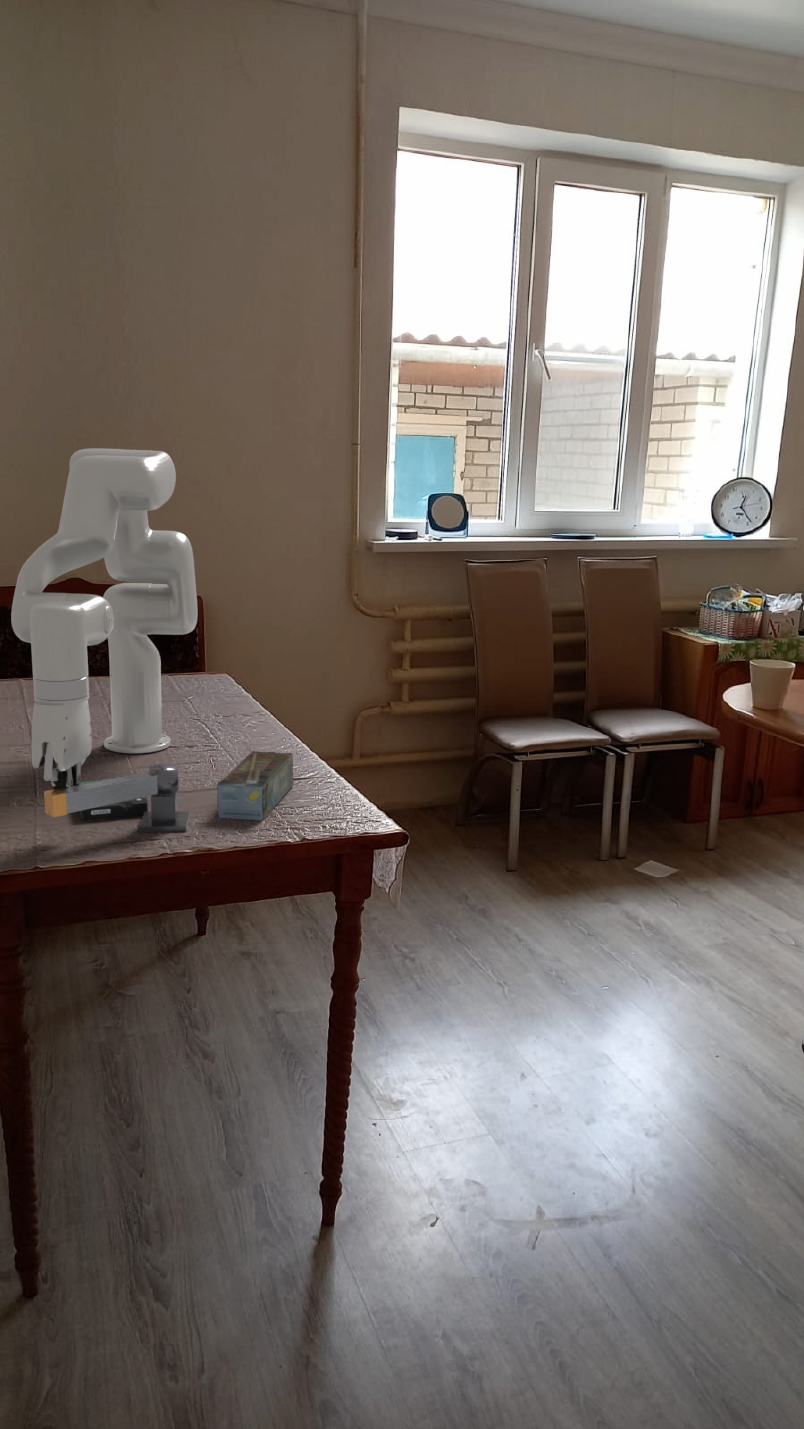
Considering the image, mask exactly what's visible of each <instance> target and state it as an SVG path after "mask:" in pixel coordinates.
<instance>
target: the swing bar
mask: <svg viewBox="0 0 804 1429" xmlns="http://www.w3.org/2000/svg"><path fill="white" fill-rule="evenodd" d="M112 778H113V779H112ZM112 778H111V779H108V780H103V779H102V780H103V781H98V782H93V783H88V784H83V785H78V786H73V787H68V788H63V789H54V788H53V789H49V790H45V791H43V794H44V796H43V797H44V798H43V799H44V813H45V814H47V815H48V816H51V818H58V817H62V816H67V815H68V814H71V813H76V812H79V811H82V810H86V809H91V808H95V807H100V806H105V805H109V804H114V803H119V802H123V801H128V800H132V799H137V798H142V797H145V798H146V797H151V795H156V794H171V793H175V792H177V793H178V791H179V789H180V786H179V785H180V784H179V783H180V782H179V766H178V765H176V764H172V763H171V764H170V763H159V764H154V765H151V766H149V767H148V771H143V772H139V773H134V774H130V775H124V776H120V777H112Z"/></svg>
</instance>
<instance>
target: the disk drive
mask: <svg viewBox="0 0 804 1429" xmlns="http://www.w3.org/2000/svg"><path fill="white" fill-rule="evenodd" d="M113 778H114V777H108V778H102V779H94V780H83V781H81V780H80V781H79V785H83V784H88V783H93V782H98V781H103V780H108V779H113ZM148 802H149V801H148V800H147V798H146V797H142V798H137V799H132V800H128V801H123V802H119V803H114V804H109V805H105V806H100V807H95V808H91V809H86V810H82V811H78V812H79V817H80V819H82V820H81V822H88V821H87V820H92V821H100V820H99V819H104V820H114V819H121V818H122V819H124V818H125V819H126V818H133V817H134V818H135V817H143V815H144V812H145V811H149V803H148ZM97 819H98V820H97Z"/></svg>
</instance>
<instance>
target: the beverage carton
mask: <svg viewBox="0 0 804 1429" xmlns="http://www.w3.org/2000/svg"><path fill="white" fill-rule="evenodd" d="M292 787H294V754H293V753H292V752H285V753H283V752H275V751H259V750H258V751H255V750H253V751H251V752H250V753H248V755H247V756H246V757H245V758H244V759H243V760H242V761H241V762H240V763H238V765H237V766H236V767H235V768H234V769H232V770H231V771H230V772H228V774H227V775H226V776H225V777H224V778H222V779H221V780H220V781H219V782H218V783H217V784H216V790H217V792H216V793H217V794H216V795H217V796H216V799H217V800H216V802H217V812H218V813H217V814H218V818H224V819H236V820H246V821H247V820H248V821H249V820H250V821H259V822H260V821H261V822H263V821H264V820H265V819H266V817H267V816H268V815H269V814H270V813H271V812H272V811H273V809H274V808H275V807H276V806H277V805H278V804H279V802H281V801H282V799H283V798H284V797H285V796H286V794H287V793H288V792H289V791H290V790H291V788H292Z"/></svg>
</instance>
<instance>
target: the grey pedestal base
mask: <svg viewBox="0 0 804 1429" xmlns="http://www.w3.org/2000/svg"><path fill="white" fill-rule="evenodd" d="M178 799H179V798H178V791H177V792H175V793H171V794H156V795H151V796H150V805H151V806H150V808H151V809H150V810H151V811H149V810H148V811H145V812H144V815H143V816H141V817H142V818H141V820H140V822H139V825H138V832H139V833H140V832H141V833H145V832H147V833H149V832H160V833H161V832H187V829H188V825H189V821H190V817H191V811H190V810H186V811H185V810H184V811H183V810H179V809H178V808H179V807H178V806H179V802H178Z"/></svg>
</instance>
